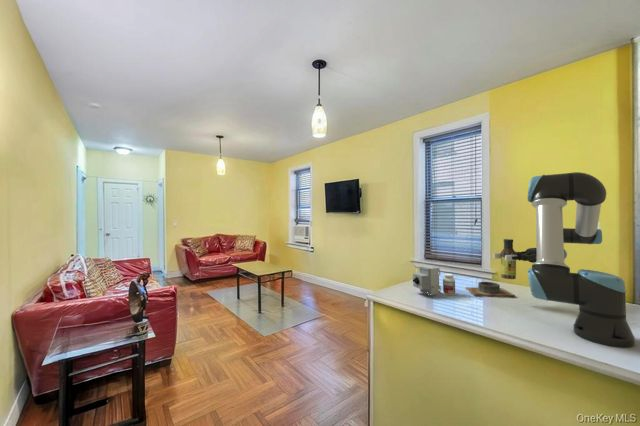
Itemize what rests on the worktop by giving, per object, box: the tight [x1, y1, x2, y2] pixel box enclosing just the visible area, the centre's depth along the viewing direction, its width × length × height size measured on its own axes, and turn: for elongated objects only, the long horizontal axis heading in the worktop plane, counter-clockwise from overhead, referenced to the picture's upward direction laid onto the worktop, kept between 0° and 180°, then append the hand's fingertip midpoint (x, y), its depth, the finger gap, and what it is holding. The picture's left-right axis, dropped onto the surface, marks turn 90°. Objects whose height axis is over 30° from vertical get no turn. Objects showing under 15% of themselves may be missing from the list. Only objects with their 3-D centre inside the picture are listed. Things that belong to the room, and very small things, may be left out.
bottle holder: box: [465, 281, 516, 298], centre depth 151 cm, size 20×14×5 cm
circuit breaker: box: [412, 265, 442, 296], centre depth 153 cm, size 8×14×15 cm, turn 107°
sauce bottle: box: [500, 238, 517, 280], centre depth 135 cm, size 6×6×20 cm
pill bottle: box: [442, 273, 456, 296], centre depth 152 cm, size 6×6×11 cm
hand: (499, 257), depth 134 cm, fingers closed on sauce bottle, 6 cm apart
